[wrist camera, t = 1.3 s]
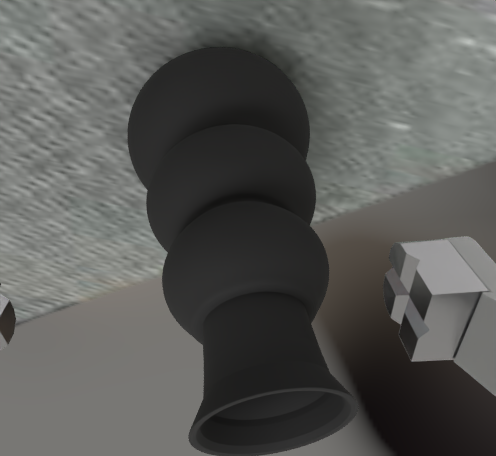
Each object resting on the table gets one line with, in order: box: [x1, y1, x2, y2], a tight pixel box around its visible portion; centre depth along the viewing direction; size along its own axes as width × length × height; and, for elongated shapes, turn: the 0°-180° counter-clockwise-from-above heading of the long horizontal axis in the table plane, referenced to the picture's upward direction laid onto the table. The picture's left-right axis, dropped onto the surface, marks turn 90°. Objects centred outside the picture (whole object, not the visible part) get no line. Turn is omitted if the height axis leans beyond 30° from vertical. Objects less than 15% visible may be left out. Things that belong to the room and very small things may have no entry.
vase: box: [128, 47, 358, 456], centre depth 34 cm, size 18×18×35 cm
